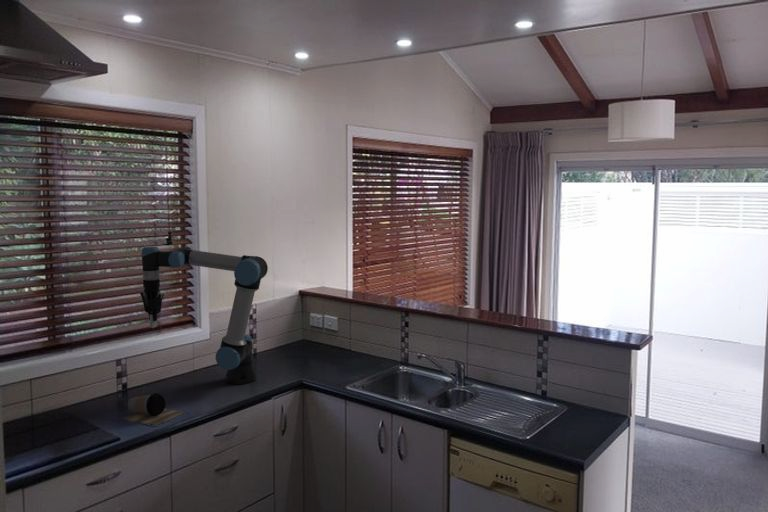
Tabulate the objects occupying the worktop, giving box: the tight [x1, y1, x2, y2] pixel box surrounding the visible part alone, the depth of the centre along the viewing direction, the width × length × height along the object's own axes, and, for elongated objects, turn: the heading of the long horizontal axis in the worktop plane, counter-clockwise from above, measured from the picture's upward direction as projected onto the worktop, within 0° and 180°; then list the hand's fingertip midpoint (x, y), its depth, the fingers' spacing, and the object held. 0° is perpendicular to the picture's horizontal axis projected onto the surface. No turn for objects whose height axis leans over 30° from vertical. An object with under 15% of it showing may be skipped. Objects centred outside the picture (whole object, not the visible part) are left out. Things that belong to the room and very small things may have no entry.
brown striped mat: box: [122, 408, 185, 427], centre depth 266 cm, size 18×16×1 cm
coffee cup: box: [127, 392, 166, 416], centre depth 267 cm, size 9×9×15 cm
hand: (153, 327), depth 303 cm, fingers closed
